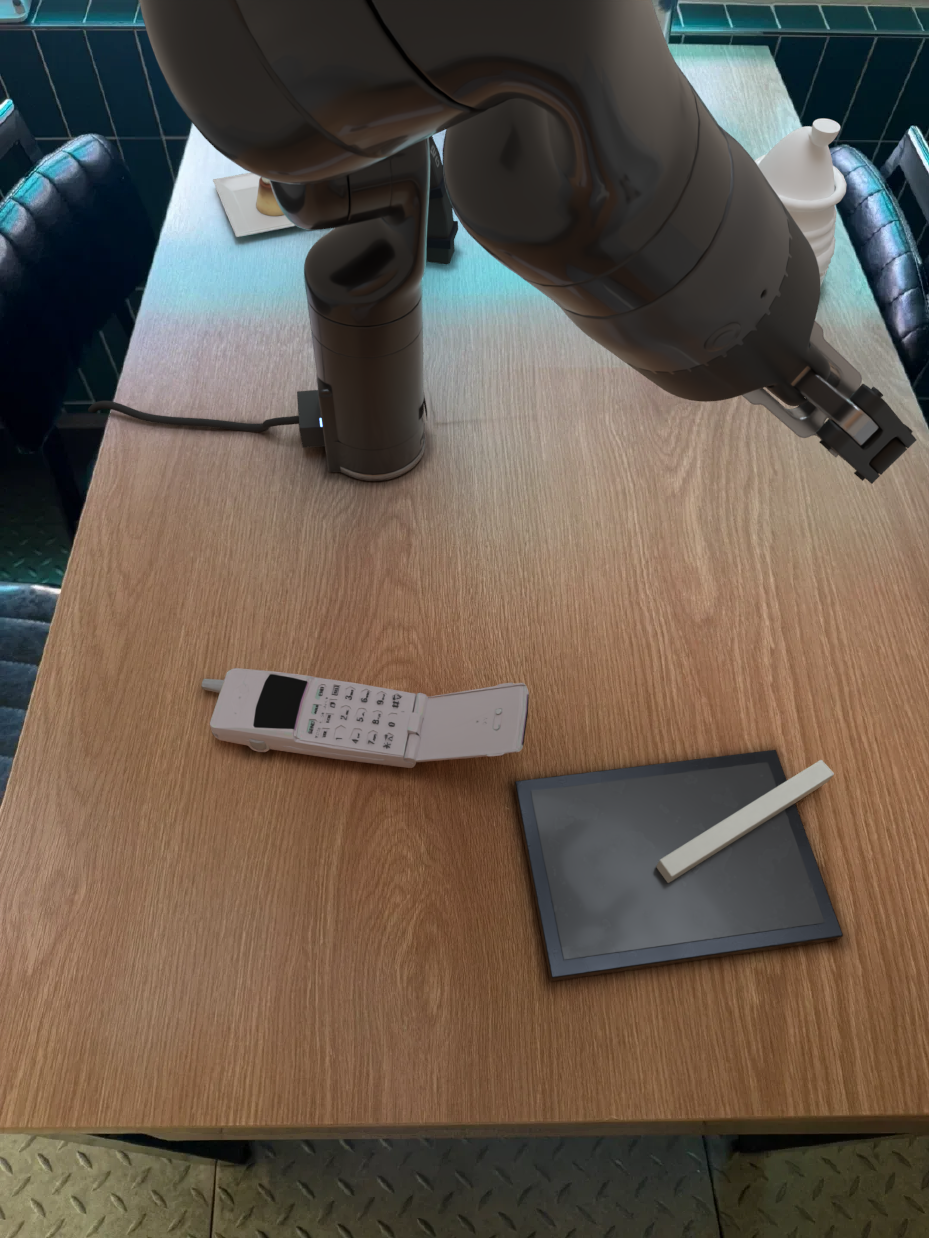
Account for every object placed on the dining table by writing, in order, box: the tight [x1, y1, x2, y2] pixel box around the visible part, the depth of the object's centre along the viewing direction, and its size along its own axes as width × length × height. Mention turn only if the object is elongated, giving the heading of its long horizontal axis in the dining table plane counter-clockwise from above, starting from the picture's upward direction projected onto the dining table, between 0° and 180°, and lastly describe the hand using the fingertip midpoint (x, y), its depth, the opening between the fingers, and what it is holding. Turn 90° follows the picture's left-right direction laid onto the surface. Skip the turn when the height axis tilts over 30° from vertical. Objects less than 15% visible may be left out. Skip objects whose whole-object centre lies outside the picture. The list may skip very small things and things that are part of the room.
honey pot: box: [753, 117, 848, 289], centre depth 98 cm, size 13×13×18 cm
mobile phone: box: [201, 667, 530, 769], centre depth 70 cm, size 6×6×25 cm
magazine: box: [426, 136, 459, 265], centre depth 102 cm, size 4×13×15 cm, turn 77°
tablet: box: [513, 749, 844, 982], centre depth 67 cm, size 20×14×1 cm
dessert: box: [212, 172, 297, 238], centre depth 109 cm, size 12×12×5 cm
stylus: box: [656, 759, 835, 883], centre depth 67 cm, size 1×1×15 cm
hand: (806, 393), depth 47 cm, fingers open, 8 cm apart
